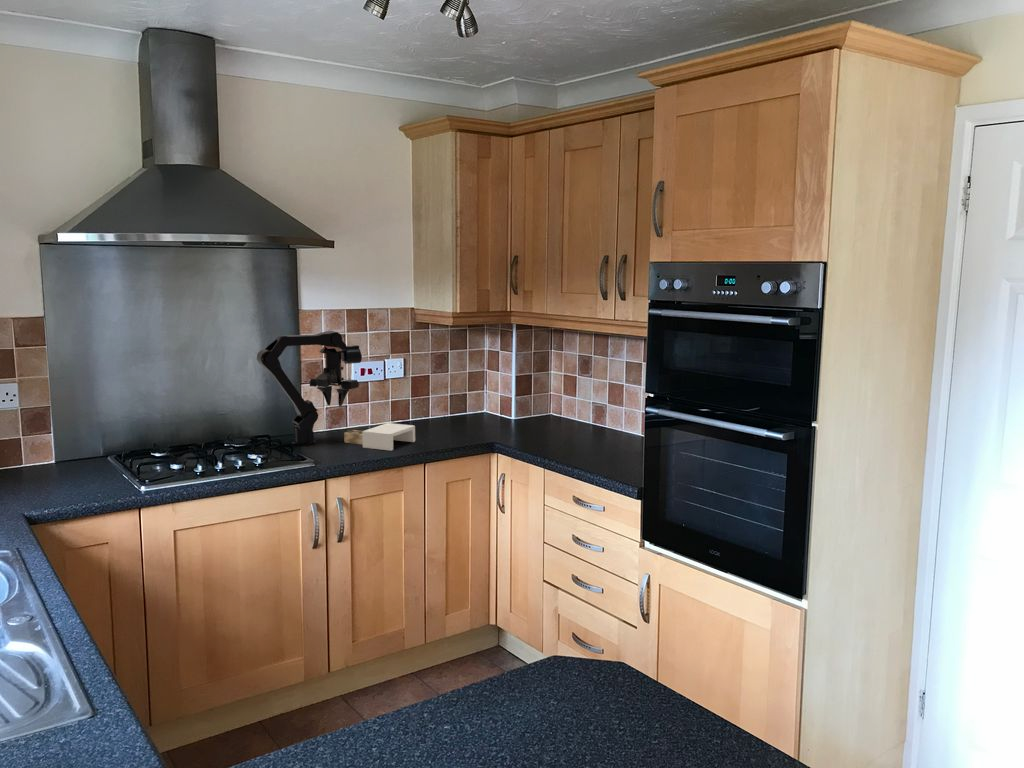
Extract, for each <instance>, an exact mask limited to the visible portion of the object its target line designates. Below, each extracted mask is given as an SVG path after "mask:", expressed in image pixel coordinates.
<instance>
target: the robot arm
mask: <svg viewBox="0 0 1024 768" xmlns="http://www.w3.org/2000/svg"><path fill="white" fill-rule="evenodd" d="M316 345H317V346H323V347H322V348H321V349H320V350H319V353H321V354H324V355H325V356H324V357H325V359H324V360H325V367H323V369H322V371H323V372H322V373H320V374H319V375H318V376H316V377H313V378H312V377H311V378H310V380H309V387H316V389H318V390H320V391H321V393H322V395H323V397H324V399H325V401H326V404H327V406H331V403H332V391H333V386H334V387H335V386H336V387H337V386H338V387H339V388H336V391H337V393H338V395H337V397H338V407H343V404H344V402H345V399H346V397H347V395H348V393H349V391H350V390H353V389H358V388H359V387H360V386H359V385H360V383H359V381H358V380H357V379H349V378H348V379H346V380H345V378H344V377H342V371H343V370H344V366H342V362H343V363H344V365H345V364H346V365H349V364H361V363H362V358H363V356H362V355H363V354H362V351H361V349H360V345H357V344H356V345H346V343H345V342H344V340H343V336H342V334H341V333H340V332H338V331H333V330H326V331H322V332H319V333H316V334H315V333H314V334H293V335H292V334H291V335H289V334H287V335H285V334H284V335H283V334H280V335H278V336H277V337H276V338H275V340H273V341H272V342H271V343H270V344H268V345H267V346H266V347H265V348H264V349H262V350H261V349H260V350H259V351H258V352H257V355H256V360H257V362H258V364H260V365H261V367H263V368H264V369H265V371H267V372H268V373H269V374H270V375H271V376H272V377H273V378H274V379H275V380H276V381H275V382H277V384H278V385H279V386H280V388H281V389H282V390H283V392H284V393H285V395H286V396H287V397H288V399H289V400H290V402H292V404H293V407H294V410H295V412H296V416H295V417H293V419H292V424H293V426H294V427H293V438H294V439H293V442H291V445H298V446H299V445H300V446H303V447H304V446H305V447H306V446H309V445H311V444H315V443H316V440H315V435H314V434H315V433H314V432H315V431H314V425H315V423H317V421H318V420H319V413H318V411H319V409H317V408H316V407H315V406H314V403H313V401H311V400H309V399H304V398H303V396H302V395H301V394H300V393H299V391H298V390H297V388H296V387H295V385H294V384H293V383H292V381H291V380H290V379H289V377H288V376H287V374H286V372H285V371H284V370H283V369H282V365H281V361H280V360H279V358H280V356H281V355H282V354H283V353H284V351H285V349H286V348H287V347H293V346H295V347H297V346H316ZM328 347H329V348H328ZM337 349H339V350H337Z"/></svg>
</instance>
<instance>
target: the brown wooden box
mask: <svg viewBox="0 0 1024 768" xmlns="http://www.w3.org/2000/svg"><path fill="white" fill-rule="evenodd" d="M362 431H363V430H356V429H352V430H348V431H345V432H343V437H344V439H343V441H344V443H345V444H346V443H347V444H355V445H362V446H363V439H362Z"/></svg>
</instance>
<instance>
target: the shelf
mask: <svg viewBox="0 0 1024 768" xmlns="http://www.w3.org/2000/svg"><path fill="white" fill-rule="evenodd" d="M361 431H362V439H363V445H362V448H363V449H373V450H382V451H383V450H384V451H390V452H391V451H394V441H399V442H407V443H408V442H409V443H415V442H416V426H415V425H413V424H402V423H390V422H387V423H383V424H381V425H377V426H374V427H371V428H368V429H365V430H361Z"/></svg>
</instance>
